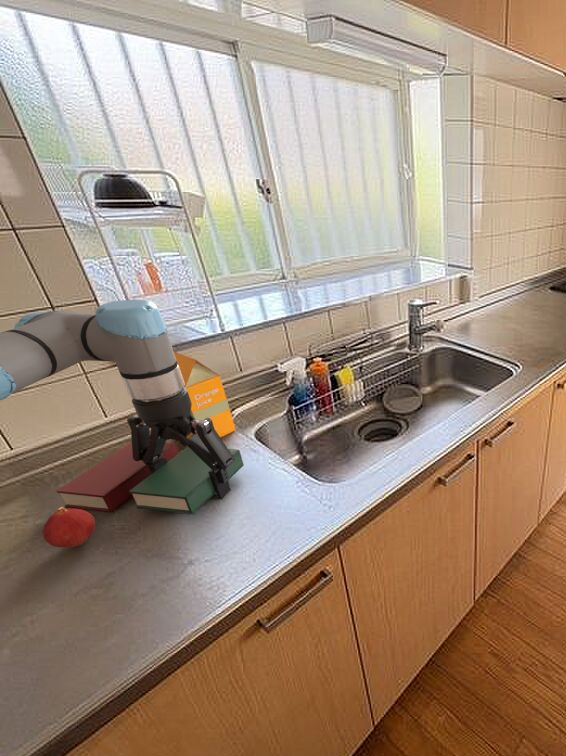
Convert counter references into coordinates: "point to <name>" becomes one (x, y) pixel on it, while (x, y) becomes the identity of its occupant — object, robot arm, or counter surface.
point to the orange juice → (206, 394)
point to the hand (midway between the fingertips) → (196, 491)
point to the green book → (180, 484)
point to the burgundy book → (110, 481)
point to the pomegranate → (68, 527)
